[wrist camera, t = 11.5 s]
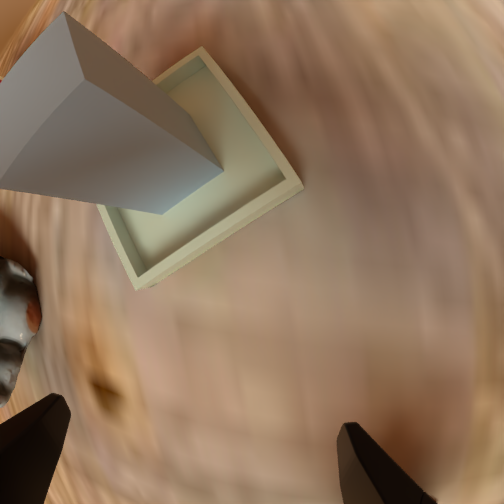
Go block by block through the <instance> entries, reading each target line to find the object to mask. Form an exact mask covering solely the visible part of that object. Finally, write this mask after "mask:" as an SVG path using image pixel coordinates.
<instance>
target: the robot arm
mask: <svg viewBox="0 0 504 504" xmlns="http://www.w3.org/2000/svg"><path fill="white" fill-rule="evenodd" d="M70 418H71V412H70V409H69V407H68V405H67V403H66V401H65V399H64V397H63V396H62V395H59V394H56V393H51V394H49V395H48V396H46V397H44V398H43V399H41V400H40V401H38V402H36V403H35V404H33V405H31V406H30V407H28V408H26V409H25V410H23V411H21V412H20V413H18V414H17V415H15V416H13V417H12V418H10V419H8V420H7V421H5V422H3V423H2V424H0V504H44V501H45V498H46V495H47V492H48V489H49V486H50V483H51V480H52V477H53V474H54V471H55V468H56V466H57V463H58V460H59V457H60V455H61V452H62V448H63V444H64V440H65V436H66V433H67V429H68V425H69V422H70ZM337 454H338V466H339V479H340V487H341V492H342V497H343V502H344V504H437V503H436V502H435V501H434V500H433V499H432V498H431V497H430V496H429V495H428V494H427V493H426V492H423V490H422V489H421V488H420V487H419V486H418V485H417V484H416V483H415V482H414V481H413V480H412V479H411V478H410V477H409V476H408V475H407V474H406V473H405V472H404V471H403V470H402V469H401V468H400V466H399V465H398V464H397V463H396V462H395V461H394V460H393V459H392V458H391V457H390V456H389V455H388V454H387V453H386V452H385V451H384V450H383V449H382V448H381V447H380V446H379V445H378V444H377V443H376V442H375V441H374V440H373V439H372V438H371V437H370V436H369V434H368V433H367V432H366V431H365V430H364V429H363V428H362V427H361V426H360V425H359V424H358V423H357V422H347V423H344V424H343V425H342V427H341V430H340V432H339V435H338V437H337Z"/></svg>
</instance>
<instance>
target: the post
mask: <svg viewBox="0 0 504 504" xmlns="http://www.w3.org/2000/svg"><path fill="white" fill-rule="evenodd" d="M222 172H224V170H223V169H222V167H221V165H220V164H219V162H218V160H217V159H216V157H215V155H214V154H213V152H212V150H211V149H210V147H209V145H208V144H207V142H206V141H205V139H204V137H203V136H202V134H201V132H200V131H199V129H198V127H197V126H196V124H195V123H194V121H193V119H192V118H191V116H190V114H188V113H187V112H186V111H185V110H184V109H183V108H182V107H181V106H179V105H178V104H177V103H176V102H175V101H174V100H173V99H172V98H170V97H169V96H168V95H167V94H166V93H165V92H164V91H162V90H161V89H160V88H159V87H158V86H157V85H155V84H154V83H153V82H152V81H151V80H150V79H148V78H147V77H146V76H145V75H144V74H143V73H141V72H140V71H139V70H138V69H137V68H135V67H134V66H133V65H132V64H131V63H129V62H128V61H127V60H126V59H125V58H123V57H122V56H121V55H120V54H118V53H117V52H116V51H115V50H113V49H112V48H111V47H110V46H108V45H107V44H106V43H105V42H103V41H102V40H101V39H100V38H98V37H97V36H96V35H95V34H93V33H92V32H91V31H89V30H88V29H87V28H85V27H84V26H83V25H82V24H80V23H79V22H78V21H76V20H75V19H74V18H72V17H71V16H70V15H68V14H67V13H66V12H64V11H63V12H62V13H61V14H60V15H59V16H58V17H57V18H56V19H55V20H54V21H53V22H52V23H51V24H50V25H49V26H48V27H47V28H46V29H45V30H44V31H43V32H42V33H41V34H40V36H39V37H38V38H37V39H36V40H35V41H34V42H33V43H32V44H31V45H30V47H29V48H28V49H27V50H26V51H25V52H24V54H23V55H22V56H21V57H20V58H19V60H18V61H17V62H16V63H15V65H14V66H13V67H12V68H11V70H10V71H9V72H8V73H7V75H6V76H5V77H4V79H3V80H2V82H1V83H0V189H6V190H12V191H19V192H26V193H32V194H39V195H45V196H52V197H58V198H64V199H71V200H77V201H83V202H89V203H95V204H101V205H107V206H113V207H119V208H125V209H130V210H136V211H142V212H148V213H153V214H159V215H163V214H164V213H165V212H167V211H168V210H169V209H171V208H172V207H174V206H175V205H176V204H178V203H179V202H180V201H182V200H183V199H185V198H186V197H187V196H189V195H190V194H192V193H193V192H195V191H196V190H197V189H199V188H200V187H202V186H203V185H205V184H206V183H208V182H209V181H210V180H212V179H213V178H215V177H216V176H218V175H219V174H221V173H222Z"/></svg>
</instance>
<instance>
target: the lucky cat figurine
mask: <svg viewBox="0 0 504 504" xmlns="http://www.w3.org/2000/svg"><path fill="white" fill-rule="evenodd" d="M32 279H33V277H32V276H31V275H30V274H29V273H28V272H27V271H26V270H25V269H24V268H23V267H22V266H21V265H20V264H19V263H17V262H14V261H12V260H10V259H5V258H3V257H1V256H0V408H1V407H3V406H5V404H6V403H7V402H8V401H9V398H10V396H11V393H12V391H13V389H14V388H15V384H16V380H17V376H18V373H19V371H20V367H21V365H22V361H23V358H24V354H25V352H26V349H27V347H28V344H29V342H30V340H31V338H32V336H34V335H35V334H36V333H37V332H38V330H39V327H40V323H41V319H42V316H41V309H40V305H39V300H38V294H37V289H36V286H35V285H34V284H33V282H32Z"/></svg>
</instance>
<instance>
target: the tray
mask: <svg viewBox="0 0 504 504" xmlns="http://www.w3.org/2000/svg"><path fill="white" fill-rule="evenodd" d="M152 82H153V83H154V84H155V85H157V86H158V87H159V88H160V89H161V90H162V91H164V92H165V93H166V94H167V95H168V96H169V97H170V98H172V99H173V100H174V101H175V102H176V103H177V104H178V105H179V106H181V107H182V108H183V109H184V110H185V111H186V112H187V113H188V114H190V116H191V118H192V119H193V121H194V123H195V124H196V126H197V127H198V129H199V131H200V132H201V134H202V136H203V137H204V139H205V141H206V142H207V144H208V145H209V147H210V149H211V150H212V152H213V154H214V155H215V157H216V159H217V160H218V162H219V164H220V165H221V167H222V169H223V170H224V172H222V173H221V174H219V175H218V176H216V177H215V178H213V179H212V180H210V181H209V182H208V183H206V184H205V185H203V186H202V187H200V188H199V189H197V190H196V191H195V192H193V193H192V194H190V195H189V196H187V197H186V198H185V199H183V200H182V201H180V202H179V203H178V204H176V205H175V206H174V207H172V208H171V209H169V210H168V211H167V212H165V213H164V214H163V215H159V214H153V213H148V212H142V211H136V210H130V209H125V208H119V207H113V206H107V205H101V204H97V207H98V209H99V212H100V214H101V217H102V219H103V221H104V224H105V226H106V229H107V231H108V233H109V235H110V238H111V240H112V242H113V244H114V247H115V249H116V251H117V253H118V255H119V258H120V260H121V262H122V264H123V266H124V268H125V270H126V272H127V274H128V276H129V278H130V280H131V282H132V284H133V286H134V288H135V290H141V289H145V288H149V287H152V286H154V285H155V284H157V283H158V282H160V281H161V280H163V279H164V278H166V277H167V276H169V275H170V274H172V273H173V272H175V271H176V270H178V269H179V268H181V267H183V266H184V265H186V264H187V263H189V262H190V261H192V260H193V259H195V258H196V257H198V256H199V255H201V254H202V253H204V252H205V251H207V250H209V249H210V248H212V247H213V246H215V245H216V244H218V243H219V242H221V241H222V240H224V239H226V238H227V237H229V236H230V235H232V234H233V233H235V232H237V231H238V230H240V229H241V228H243V227H244V226H246V225H247V224H249V223H251V222H252V221H254V220H255V219H257V218H259V217H260V216H262V215H263V214H265V213H266V212H268V211H270V210H271V209H273V208H274V207H276V206H278V205H279V204H281V203H282V202H284V201H286V200H287V199H289V198H290V197H292V196H294V195H295V194H297V193H299V192H300V191H302V190H303V189H304V187H303V184H302V182H301V180H300V179H299V177H298V176H297V174H296V173H295V171H294V170H293V168H292V167H291V165H290V164H289V162H288V161H287V159H286V158H285V156H284V155H283V153H282V152H281V150H280V149H279V147H278V146H277V145H276V143H275V142H274V140H273V139H272V137H271V136H270V134H269V133H268V132H267V130H266V129H265V127H264V126H263V125H262V123H261V122H260V120H259V119H258V118H257V116H256V115H255V113H254V112H253V111H252V109H251V108H250V107H249V105H248V104H247V103H246V101H245V100H244V99H243V97H242V96H241V95H240V93H239V92H238V91H237V89H236V88H235V87H234V85H233V84H232V83H231V81H230V80H229V79H228V77H227V76H226V75H225V74H224V72H223V71H222V70H221V69H220V67H219V66H218V65H217V63H216V62H215V61H214V60H213V58H212V57H211V56H210V55H209V54H208V52H207V51H206V50H205V49H204V47H203V46H201V47H199V48H198V49H196V50H195V51H193V52H192V53H190V54H189V55H187V56H186V57H184V58H183V59H181V60H180V61H178V62H177V63H176V64H174V65H173V66H171V67H170V68H169V69H167V70H166V71H165V72H163V73H162V74H160V75H159V76H158V77H156V78H155V79H154V80H153V81H152Z"/></svg>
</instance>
